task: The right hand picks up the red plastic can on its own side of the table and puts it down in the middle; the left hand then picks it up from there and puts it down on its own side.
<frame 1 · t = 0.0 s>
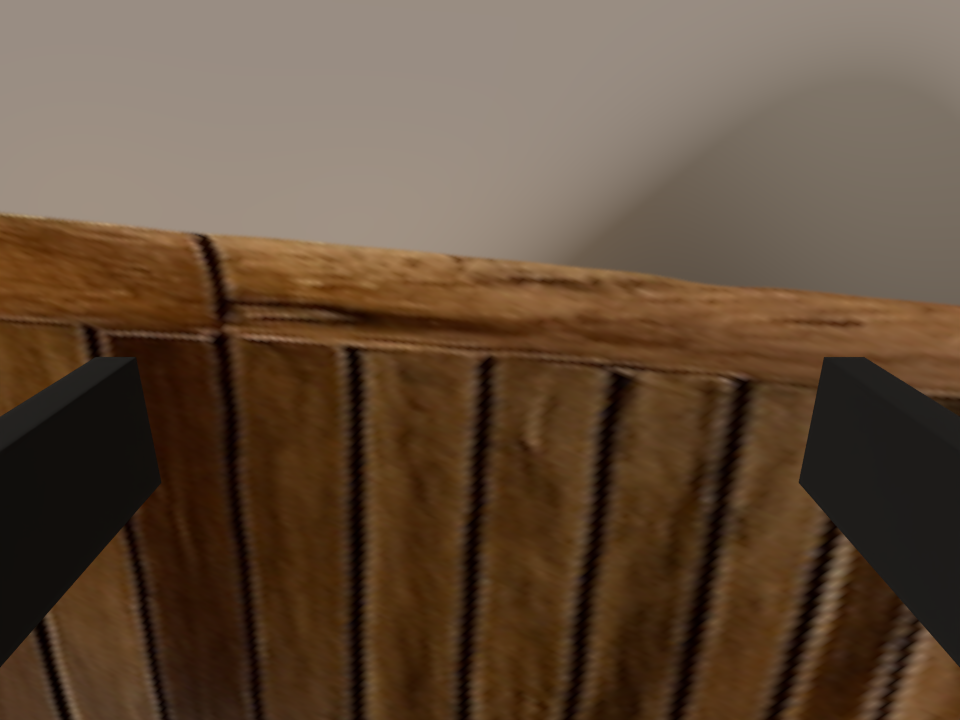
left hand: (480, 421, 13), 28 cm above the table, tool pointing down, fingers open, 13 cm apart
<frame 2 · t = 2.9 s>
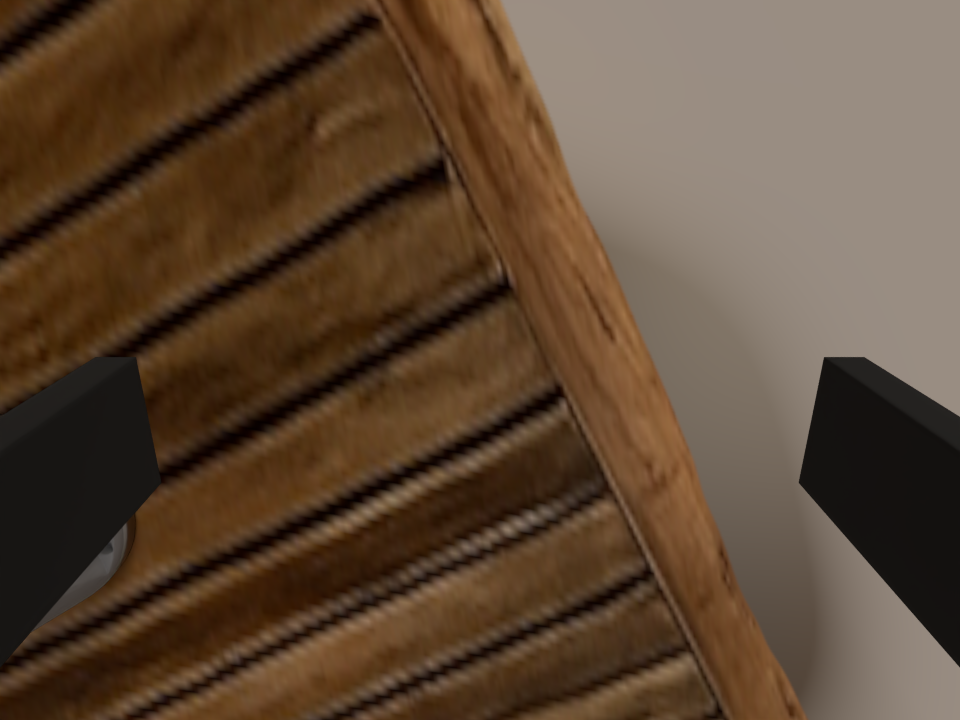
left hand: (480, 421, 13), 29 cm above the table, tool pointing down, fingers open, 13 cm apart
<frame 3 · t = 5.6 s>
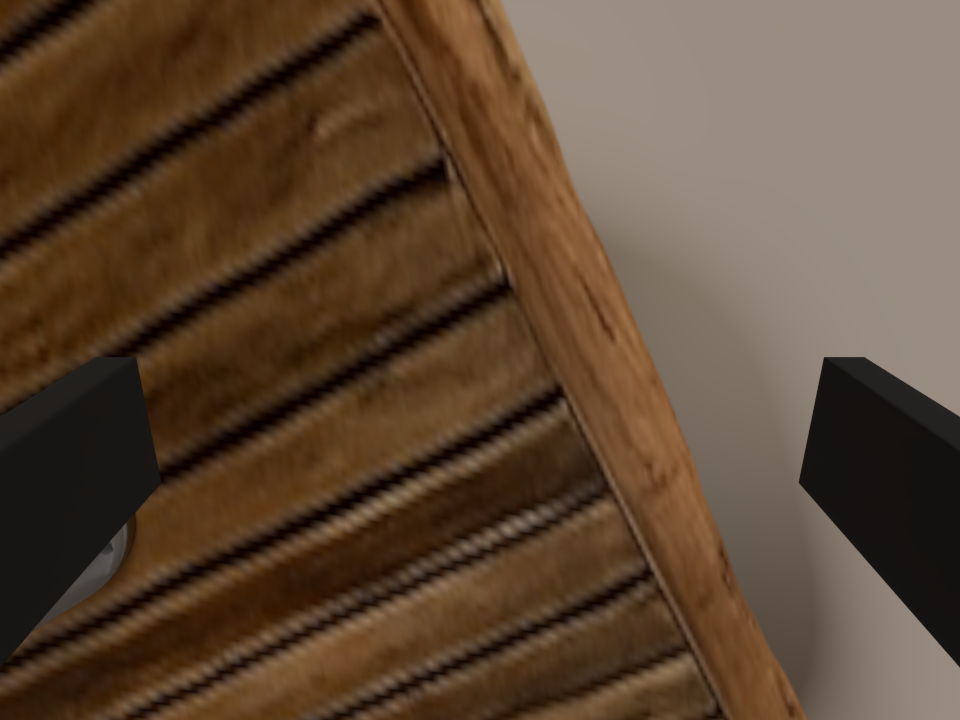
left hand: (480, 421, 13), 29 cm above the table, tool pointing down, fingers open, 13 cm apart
when the right hand's fingers open (4 cm above the table, at t = 8.6 s): can drops 2 cm, on the table.
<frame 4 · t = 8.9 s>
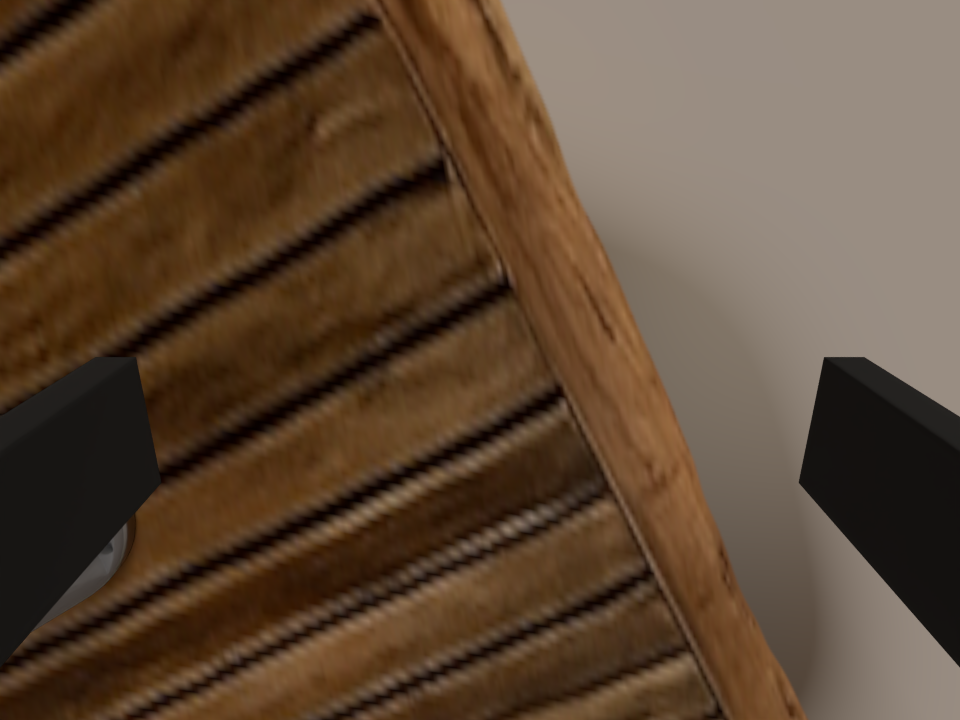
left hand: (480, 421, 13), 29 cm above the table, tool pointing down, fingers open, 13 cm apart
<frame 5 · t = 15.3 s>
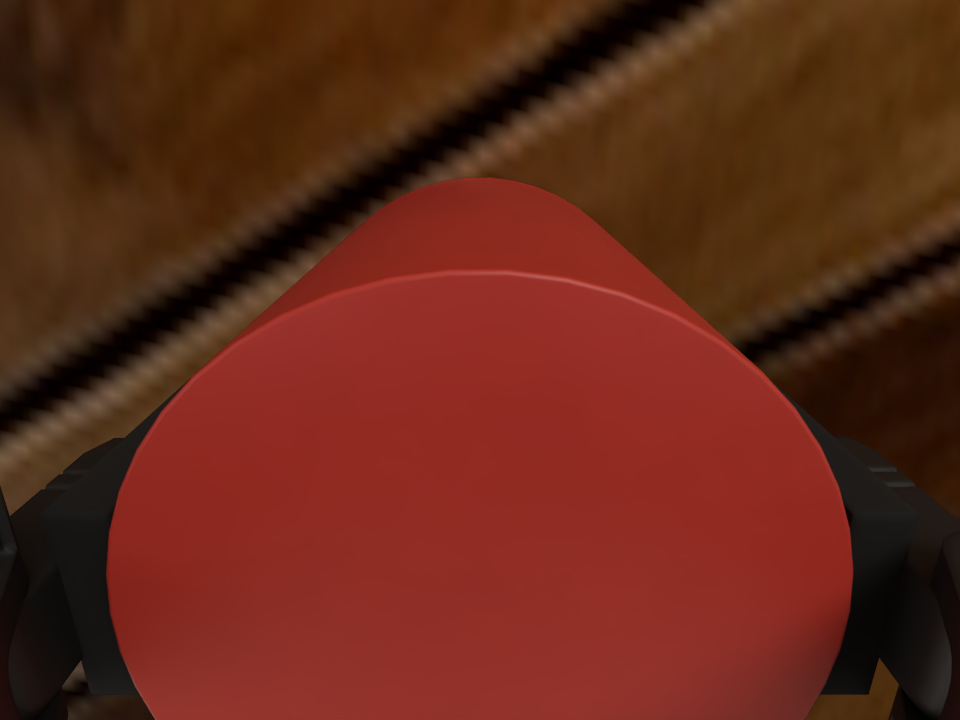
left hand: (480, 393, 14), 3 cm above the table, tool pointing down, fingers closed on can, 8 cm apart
can: (479, 346, 17), on the table, touching left hand
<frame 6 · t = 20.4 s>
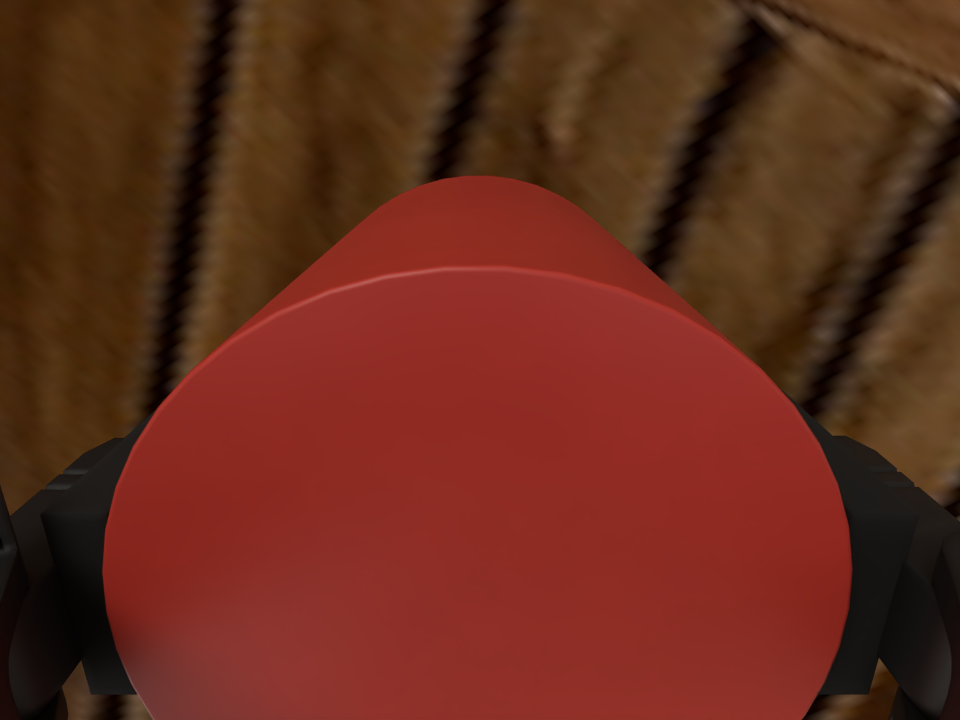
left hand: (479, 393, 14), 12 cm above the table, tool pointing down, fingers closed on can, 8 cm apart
can: (478, 345, 17), point 9 cm above the table, touching left hand
when the left hand's fingers open (4 cm above the table, at t = 25.8 s): can drops 2 cm, on the table.
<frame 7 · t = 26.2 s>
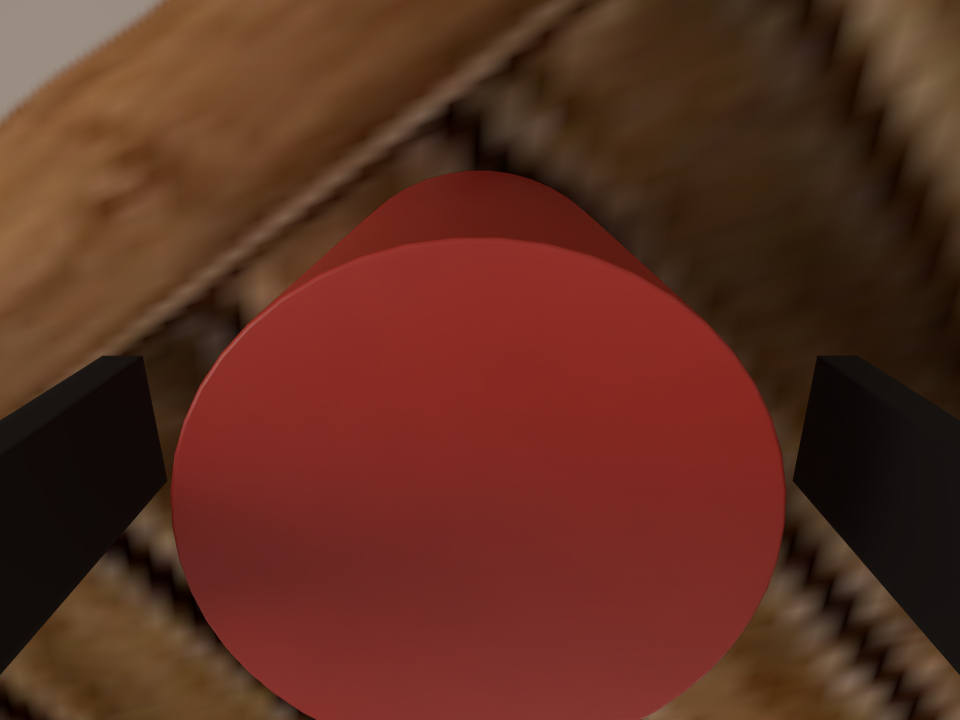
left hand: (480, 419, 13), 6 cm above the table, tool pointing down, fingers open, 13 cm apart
can: (479, 326, 18), on the table
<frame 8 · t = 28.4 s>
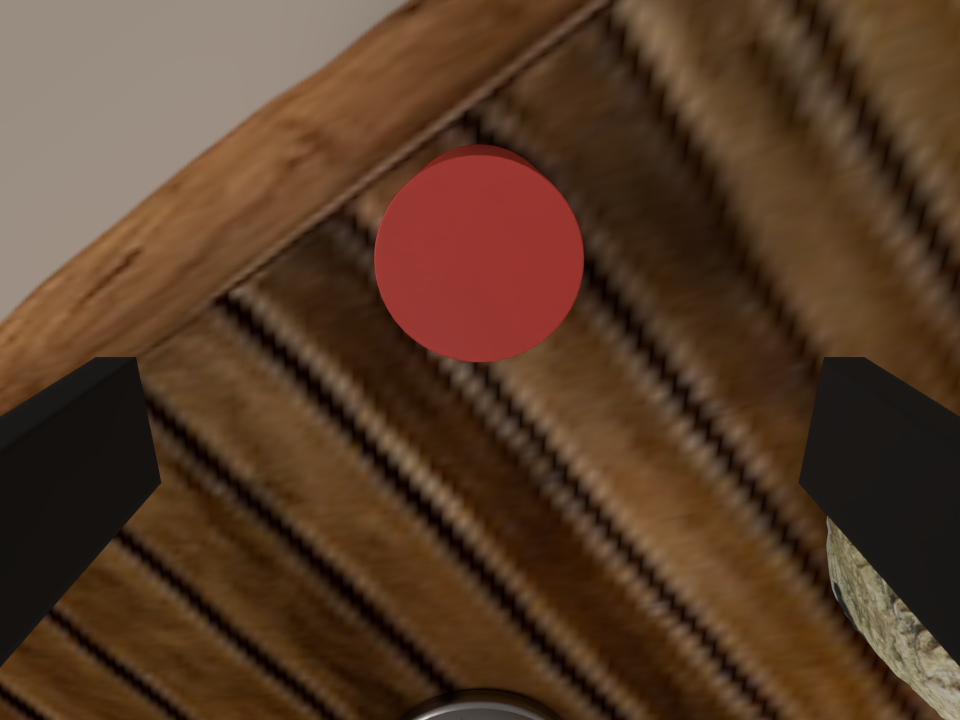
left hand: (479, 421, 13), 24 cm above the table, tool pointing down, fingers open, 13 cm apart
can: (479, 225, 35), on the table
fossil: (877, 533, 42), on the table
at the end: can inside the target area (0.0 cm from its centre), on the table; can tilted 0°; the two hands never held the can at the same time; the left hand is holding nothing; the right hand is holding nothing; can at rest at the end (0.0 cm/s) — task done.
